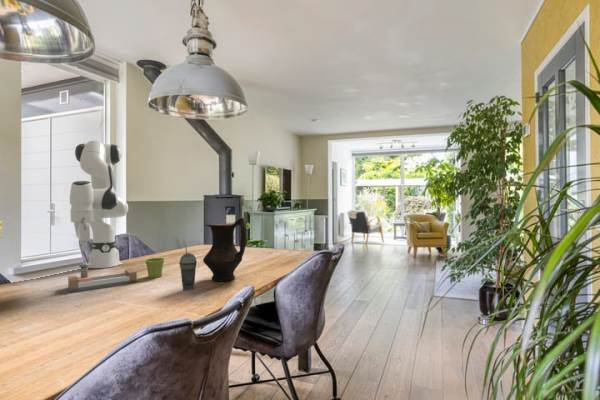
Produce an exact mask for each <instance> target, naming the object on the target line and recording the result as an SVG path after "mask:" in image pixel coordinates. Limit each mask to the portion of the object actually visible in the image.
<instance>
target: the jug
mask: <svg viewBox="0 0 600 400" xmlns="http://www.w3.org/2000/svg"><path fill="white" fill-rule="evenodd" d="M205 226H206V227H209V228H210V230H211V235H212V236H211V237H212V239H211V240H212V245H211V248H210V249H209V251H208V252H207V253H206V255H205V256H204V257H203V259H202V262H203V263H204V265H206V266H207V268H208V269H209V270H210V271H211V273H212V276H211V280H212V281H217V282H219V281H220V282H226V281H232V280H235V278H236V276H235V274H234V272H235V271H236V269H237V267H238V266H239V265H240V263H241V262H242V261H243V256H244V254H245V251H246V243H247V225H246V221H245V218H244V217H243V216H242V217H241V216H240V217H238V219H236V220H235V221H234V222H233V223H219V224H205ZM238 226H240V241H239V243H240V244H239V251H238V250H237V247H236V246H235V241H234V240H235V239H234V238H235V237H234V236H235V228H237V227H238Z"/></svg>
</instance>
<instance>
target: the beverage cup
mask: <svg viewBox="0 0 600 400" xmlns="http://www.w3.org/2000/svg"><path fill="white" fill-rule="evenodd" d="M184 248H185V253H184V254H182V256H181V257H180V259H179V263H178V264H179V268H180V277H181V283H182V284H181V285H182V291H185V292H187V291H189V292H190V291H193V290H194V289H195V282H196V267H197V263H198V261H197V258H196V256H195V255H194V254H193V253H190V252H189V253H188V249H187V243H186V242H184Z"/></svg>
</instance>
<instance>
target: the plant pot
mask: <svg viewBox="0 0 600 400" xmlns="http://www.w3.org/2000/svg"><path fill="white" fill-rule="evenodd" d="M165 260H166V258H164V257H151V258H148V259H145V260H144V262H145V265H146V269H147V274H148V278H150V279H152V278H154V279H156V278H160V277H162V276H163V267H164V262H165Z"/></svg>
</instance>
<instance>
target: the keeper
mask: <svg viewBox="0 0 600 400" xmlns="http://www.w3.org/2000/svg"><path fill="white" fill-rule="evenodd" d="M78 265H79V266H78V267H80V275H79V276H77V278H78V283H79V282H86V281H92V277H93V276H91V274H89V273H88V272H89V270H88V269H89V268H88V266H89V264H88V262H86V263H80V264H78Z"/></svg>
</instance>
